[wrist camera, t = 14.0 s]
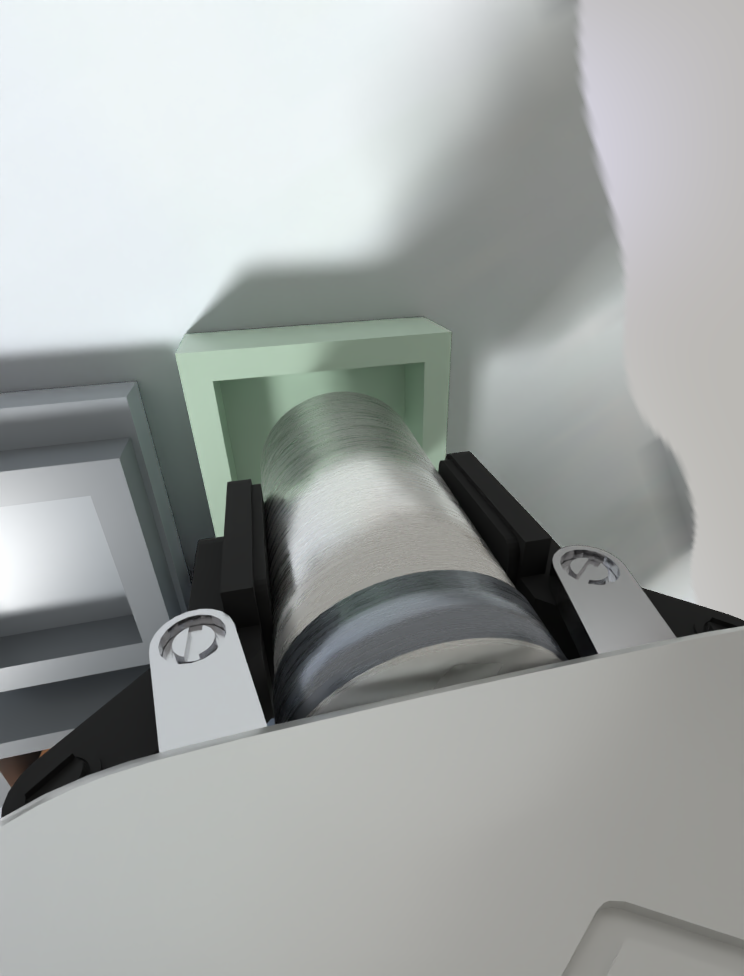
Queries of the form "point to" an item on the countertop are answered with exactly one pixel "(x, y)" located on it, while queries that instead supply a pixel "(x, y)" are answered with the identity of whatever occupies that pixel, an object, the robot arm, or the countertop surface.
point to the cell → (378, 567)
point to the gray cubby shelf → (78, 560)
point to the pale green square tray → (306, 386)
